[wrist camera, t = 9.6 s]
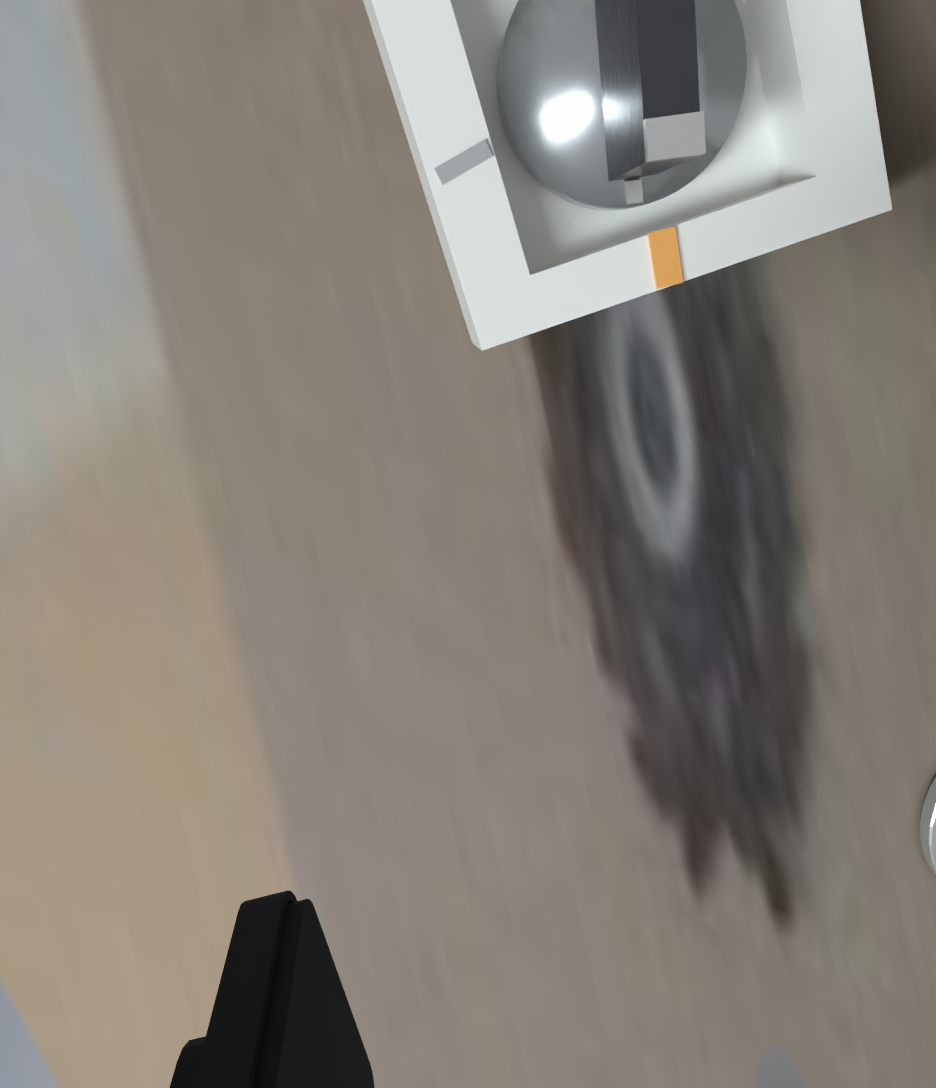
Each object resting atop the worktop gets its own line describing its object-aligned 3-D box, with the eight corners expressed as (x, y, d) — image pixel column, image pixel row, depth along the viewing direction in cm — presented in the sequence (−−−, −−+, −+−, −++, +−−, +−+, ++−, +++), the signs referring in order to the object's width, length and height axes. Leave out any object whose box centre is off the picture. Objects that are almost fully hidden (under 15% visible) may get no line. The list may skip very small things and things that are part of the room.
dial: (481, -41, 30) (504, -129, 24) (727, -72, 30) (814, -169, 24) (511, 225, 33) (538, 211, 26) (736, 194, 33) (817, 171, 27)
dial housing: (832, 219, 35) (894, 209, 31) (472, 343, 36) (482, 351, 31) (758, -198, 31) (819, -280, 26) (346, -52, 31) (337, -108, 27)
